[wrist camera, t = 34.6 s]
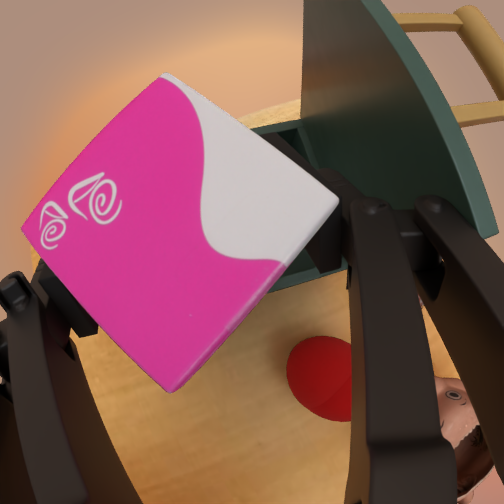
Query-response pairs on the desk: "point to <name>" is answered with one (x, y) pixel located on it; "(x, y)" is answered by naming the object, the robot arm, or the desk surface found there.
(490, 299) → the robot arm
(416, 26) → the lid
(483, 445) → the decorative planter
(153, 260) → the supplement box
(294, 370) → the red rounded lump
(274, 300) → the desk surface
